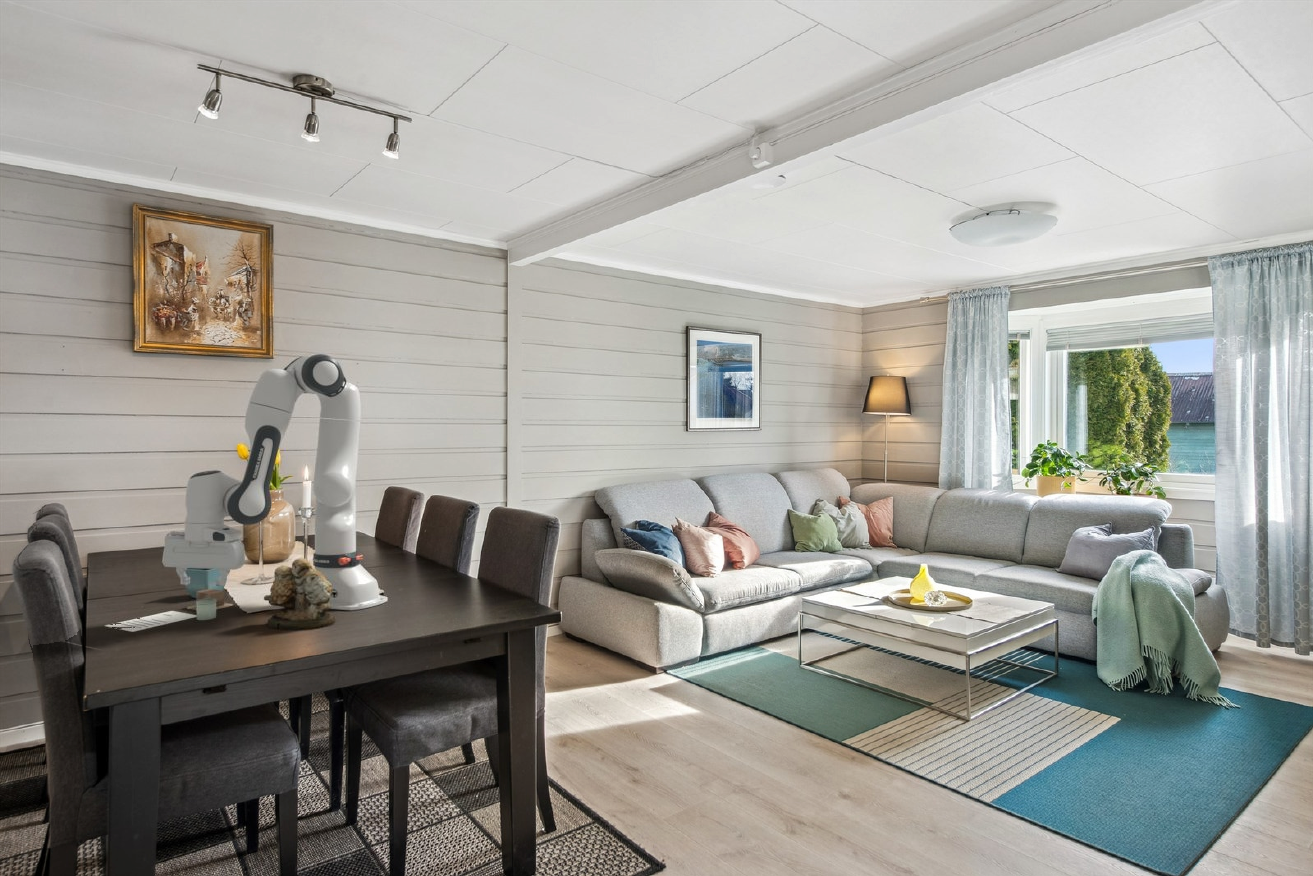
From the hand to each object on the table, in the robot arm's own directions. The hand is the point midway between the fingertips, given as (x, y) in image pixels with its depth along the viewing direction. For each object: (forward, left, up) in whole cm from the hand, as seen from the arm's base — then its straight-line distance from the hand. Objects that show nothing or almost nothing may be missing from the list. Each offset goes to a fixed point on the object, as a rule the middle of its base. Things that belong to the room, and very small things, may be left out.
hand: (202, 585), depth 200 cm
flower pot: (+24, -17, -9) cm, 31 cm away
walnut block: (+10, -9, -9) cm, 16 cm away
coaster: (+10, -9, -9) cm, 16 cm away
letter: (+9, +7, -9) cm, 15 cm away
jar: (0, -1, -9) cm, 9 cm away
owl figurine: (-26, -9, -9) cm, 29 cm away
